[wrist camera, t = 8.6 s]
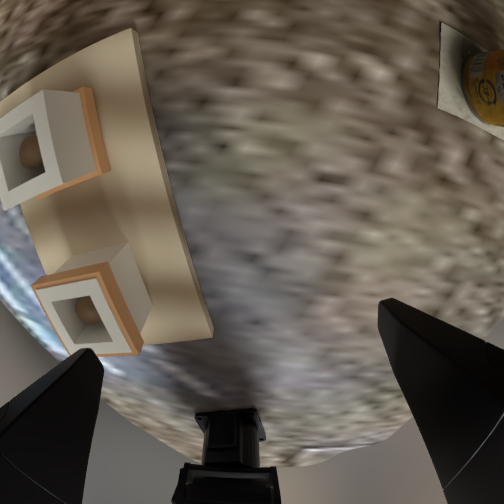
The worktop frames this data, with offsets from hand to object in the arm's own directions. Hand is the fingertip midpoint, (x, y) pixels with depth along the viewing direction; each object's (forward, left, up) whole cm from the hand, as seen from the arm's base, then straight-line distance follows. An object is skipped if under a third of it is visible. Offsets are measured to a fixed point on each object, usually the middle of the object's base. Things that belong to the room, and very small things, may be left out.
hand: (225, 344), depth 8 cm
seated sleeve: (-2, +10, -11) cm, 15 cm away
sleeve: (+8, +10, -11) cm, 17 cm away
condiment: (+8, -20, -12) cm, 25 cm away
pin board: (+3, +10, -12) cm, 16 cm away
